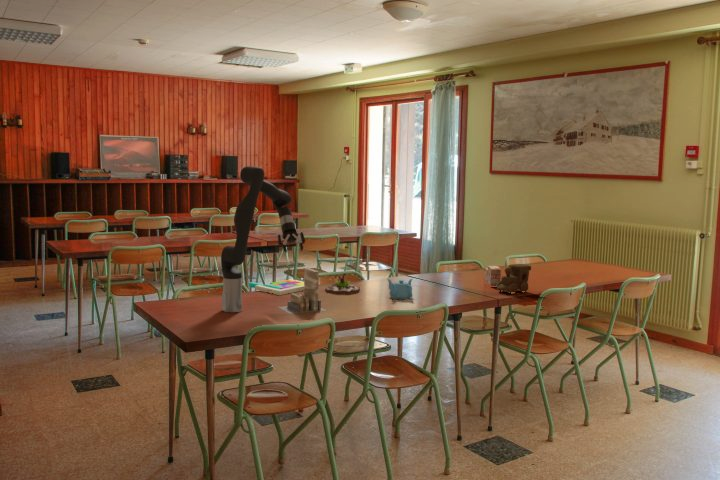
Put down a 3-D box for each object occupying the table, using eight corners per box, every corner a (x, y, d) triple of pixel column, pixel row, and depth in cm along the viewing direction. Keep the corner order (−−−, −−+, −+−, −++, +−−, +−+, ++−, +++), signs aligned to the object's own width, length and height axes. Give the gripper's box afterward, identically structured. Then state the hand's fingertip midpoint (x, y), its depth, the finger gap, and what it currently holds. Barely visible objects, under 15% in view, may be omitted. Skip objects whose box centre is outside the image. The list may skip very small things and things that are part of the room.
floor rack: (290, 316, 325) (290, 304, 324) (277, 309, 338) (278, 297, 338) (326, 313, 334) (326, 300, 333) (312, 306, 348) (313, 294, 347)
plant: (352, 296, 378) (353, 277, 377) (321, 293, 384) (321, 274, 383) (363, 290, 397) (364, 271, 395) (333, 287, 403) (334, 269, 402)
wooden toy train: (516, 289, 412) (518, 263, 410) (531, 292, 403) (532, 265, 400) (494, 292, 400) (496, 265, 398) (508, 295, 391) (510, 268, 389)
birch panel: (313, 310, 333) (314, 271, 330) (303, 305, 343) (304, 268, 341) (317, 310, 334) (318, 271, 331) (308, 305, 344) (308, 267, 342)
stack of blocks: (484, 281, 435) (485, 263, 433) (493, 281, 435) (494, 263, 433) (490, 287, 414) (491, 268, 412) (500, 288, 414) (501, 269, 412)
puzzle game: (315, 288, 397) (281, 281, 415) (315, 284, 396) (281, 277, 415) (279, 296, 374) (245, 288, 392) (279, 291, 373) (245, 283, 392)
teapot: (414, 300, 369) (415, 283, 368) (388, 300, 369) (388, 282, 368) (411, 295, 384) (412, 278, 383) (386, 294, 383) (386, 277, 382)
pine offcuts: (300, 311, 329) (300, 298, 328) (290, 306, 340) (291, 293, 339) (308, 310, 332) (309, 297, 331) (299, 305, 342) (299, 292, 341)
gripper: (275, 223, 350) (281, 249, 342) (301, 220, 354) (308, 246, 347) (274, 230, 356) (279, 256, 349) (299, 227, 360) (305, 253, 353)
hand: (293, 251), depth 348 cm, fingers open, 8 cm apart
